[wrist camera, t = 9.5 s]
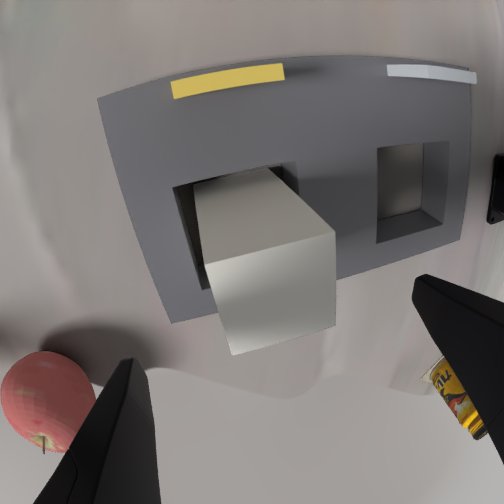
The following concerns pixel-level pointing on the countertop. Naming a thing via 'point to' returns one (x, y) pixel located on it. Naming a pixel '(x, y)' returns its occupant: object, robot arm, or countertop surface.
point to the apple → (47, 399)
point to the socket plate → (292, 154)
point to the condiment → (455, 397)
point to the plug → (265, 259)
